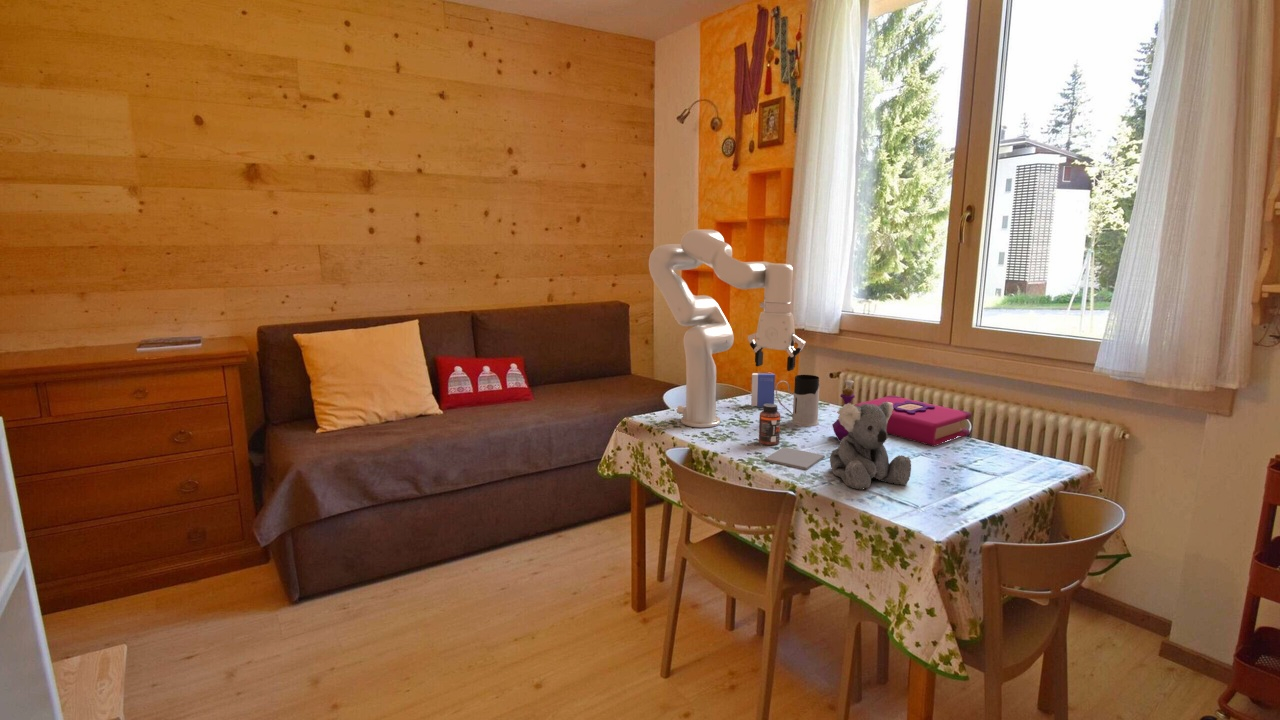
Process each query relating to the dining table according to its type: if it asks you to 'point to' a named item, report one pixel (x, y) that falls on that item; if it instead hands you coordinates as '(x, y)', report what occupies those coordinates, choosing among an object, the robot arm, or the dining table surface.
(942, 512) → the dining table surface
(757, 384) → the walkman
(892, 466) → the koala plush
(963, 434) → the book
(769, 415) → the supplement bottle
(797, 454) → the grey mat
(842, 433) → the perfume bottle
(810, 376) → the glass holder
